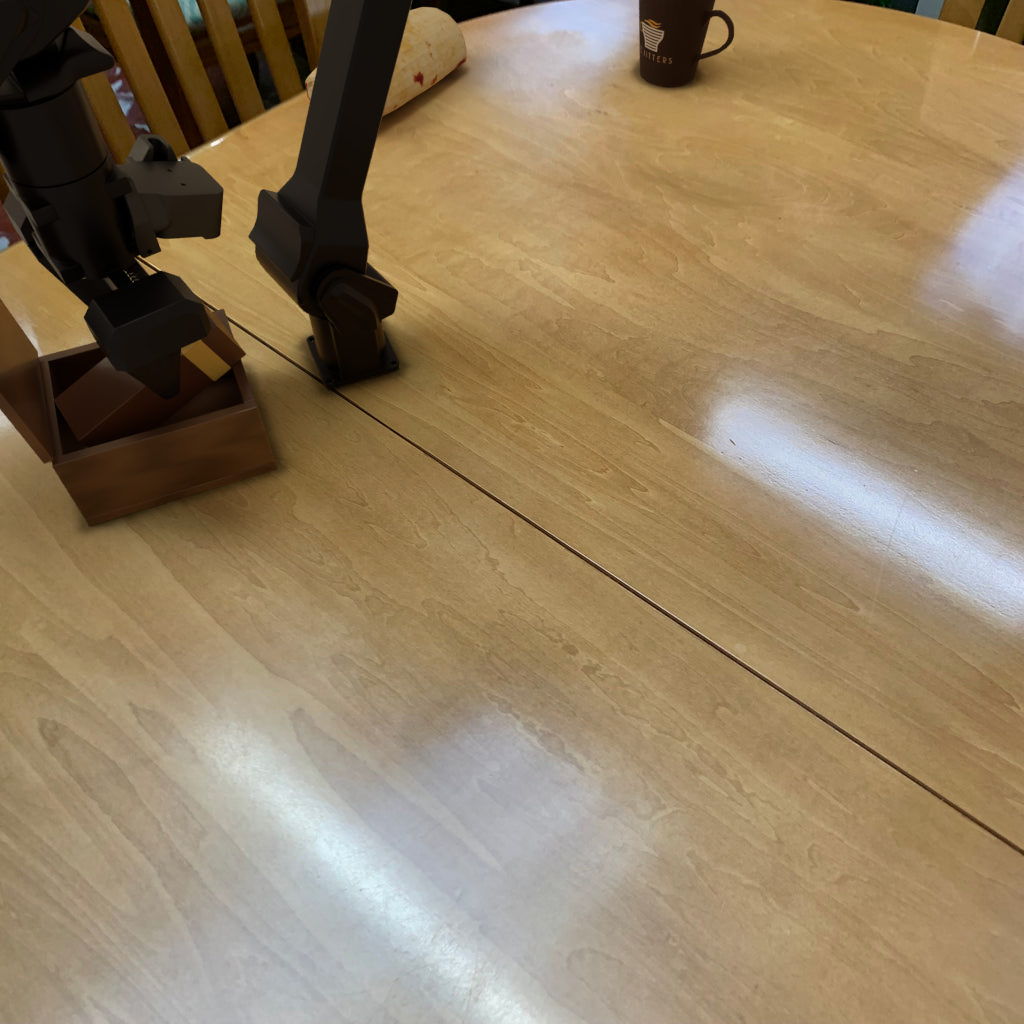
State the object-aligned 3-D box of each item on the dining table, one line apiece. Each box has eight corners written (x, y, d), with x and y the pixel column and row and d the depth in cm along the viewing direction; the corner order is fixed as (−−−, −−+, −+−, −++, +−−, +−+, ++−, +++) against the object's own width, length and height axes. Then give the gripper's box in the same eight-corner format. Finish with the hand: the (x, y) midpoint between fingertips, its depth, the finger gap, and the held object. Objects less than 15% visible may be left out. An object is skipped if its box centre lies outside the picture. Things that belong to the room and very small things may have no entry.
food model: (362, 150, 99) (474, 76, 109) (362, 93, 93) (481, 21, 103) (293, 108, 101) (410, 39, 111) (290, 50, 95) (413, -17, 106)
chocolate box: (77, 441, 64) (217, 326, 64) (52, 399, 66) (187, 287, 66) (115, 464, 68) (247, 355, 68) (90, 423, 70) (218, 318, 70)
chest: (244, 371, 77) (223, 308, 72) (277, 469, 71) (257, 407, 65) (71, 419, 74) (35, 357, 69) (89, 526, 68) (51, 466, 62)
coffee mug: (618, 61, 109) (626, -30, 101) (686, 49, 110) (699, -41, 102) (657, 110, 102) (669, 17, 94) (729, 98, 103) (746, 4, 95)
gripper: (257, 183, 52) (309, 384, 64) (124, 55, 61) (192, 252, 73) (64, 260, 48) (159, 458, 60) (-47, 110, 57) (55, 309, 69)
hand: (144, 359), depth 66 cm, fingers open, 9 cm apart
